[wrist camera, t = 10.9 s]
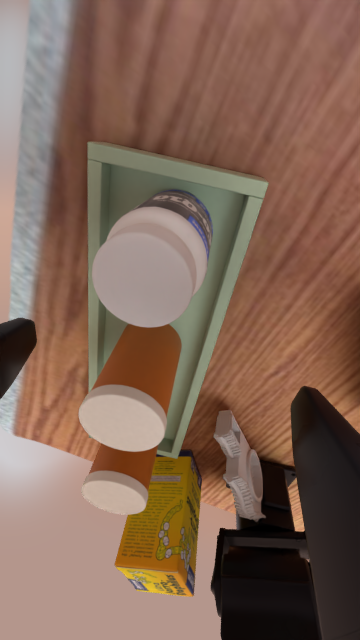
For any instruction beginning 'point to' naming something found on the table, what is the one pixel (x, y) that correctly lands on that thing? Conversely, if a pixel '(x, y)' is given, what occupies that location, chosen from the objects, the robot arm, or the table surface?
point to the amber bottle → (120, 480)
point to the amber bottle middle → (134, 390)
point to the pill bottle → (154, 259)
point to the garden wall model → (240, 467)
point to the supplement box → (164, 530)
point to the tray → (223, 264)
